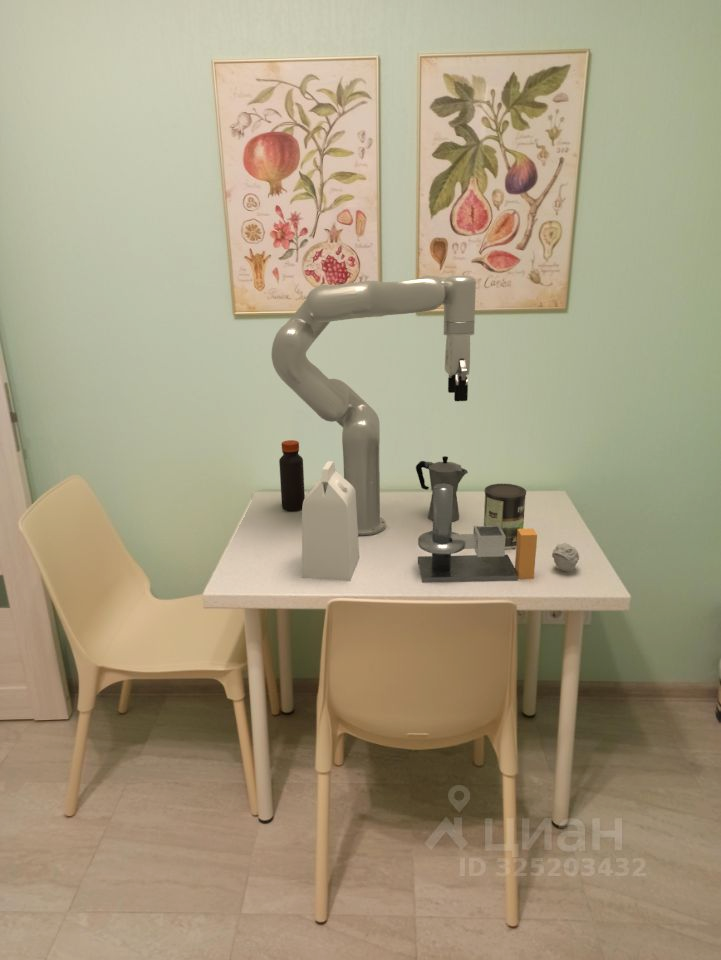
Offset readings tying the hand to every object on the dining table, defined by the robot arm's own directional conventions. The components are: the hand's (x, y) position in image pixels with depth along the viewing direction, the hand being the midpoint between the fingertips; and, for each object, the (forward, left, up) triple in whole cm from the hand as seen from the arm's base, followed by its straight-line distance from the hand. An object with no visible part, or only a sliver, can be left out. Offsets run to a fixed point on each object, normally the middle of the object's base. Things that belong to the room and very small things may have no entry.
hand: (457, 396), depth 173 cm
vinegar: (-45, +16, -36) cm, 60 cm away
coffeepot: (-3, +7, -36) cm, 37 cm away
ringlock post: (-1, -26, -36) cm, 44 cm away
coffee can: (+11, -10, -36) cm, 39 cm away
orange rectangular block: (+12, -29, -36) cm, 48 cm away
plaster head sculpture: (+22, -27, -36) cm, 50 cm away
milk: (-33, -23, -36) cm, 54 cm away
